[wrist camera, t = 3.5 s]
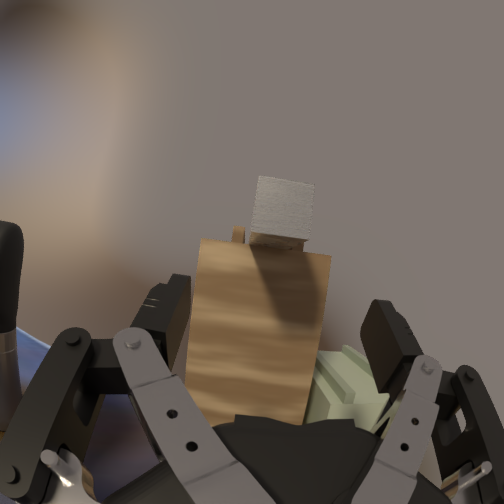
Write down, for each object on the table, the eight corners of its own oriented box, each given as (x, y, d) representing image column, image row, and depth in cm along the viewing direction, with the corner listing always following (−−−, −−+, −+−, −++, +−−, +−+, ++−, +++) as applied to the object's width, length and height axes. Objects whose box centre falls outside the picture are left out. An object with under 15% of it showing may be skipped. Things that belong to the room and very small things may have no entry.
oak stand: (274, 520, 24) (333, 239, 27) (179, 510, 24) (203, 221, 26) (266, 460, 39) (302, 250, 42) (195, 452, 39) (218, 238, 41)
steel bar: (309, 239, 17) (314, 184, 18) (251, 231, 17) (258, 175, 18) (271, 256, 41) (275, 232, 42) (247, 253, 41) (250, 228, 41)
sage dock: (362, 524, 22) (421, 389, 23) (288, 532, 22) (333, 392, 23) (328, 453, 42) (355, 345, 43) (274, 453, 42) (296, 341, 43)
